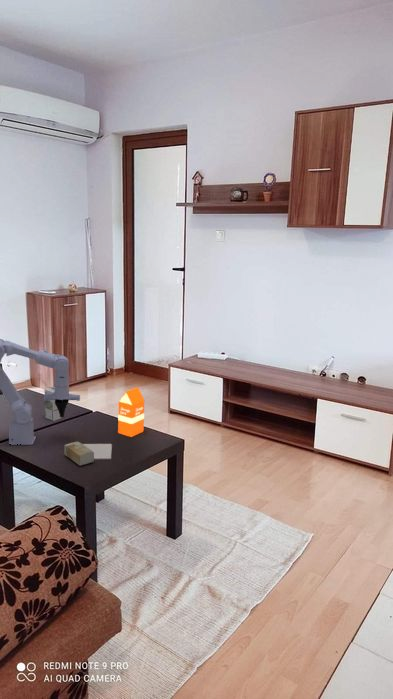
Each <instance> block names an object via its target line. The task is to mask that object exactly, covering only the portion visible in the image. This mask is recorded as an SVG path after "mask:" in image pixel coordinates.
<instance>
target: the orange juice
mask: <svg viewBox="0 0 393 699" xmlns="http://www.w3.org/2000/svg"><path fill="white" fill-rule="evenodd" d="M117 420H118V424H117V428H118V429H117V433H118V434H121V435H124V436H126V437H131V438H132V437H134V436H136V435H139V434H140V433H143V432H144V428H145V427H144V426H145V425H144V422H145V399H144V397H143V395H142V393H141V390H140V389H139V387H138V386H137V387H134V388H131V389H128V390H126V391H125V392H124V394H123V395H122V397H121V398H120V399H119V401H118V416H117Z"/></svg>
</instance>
